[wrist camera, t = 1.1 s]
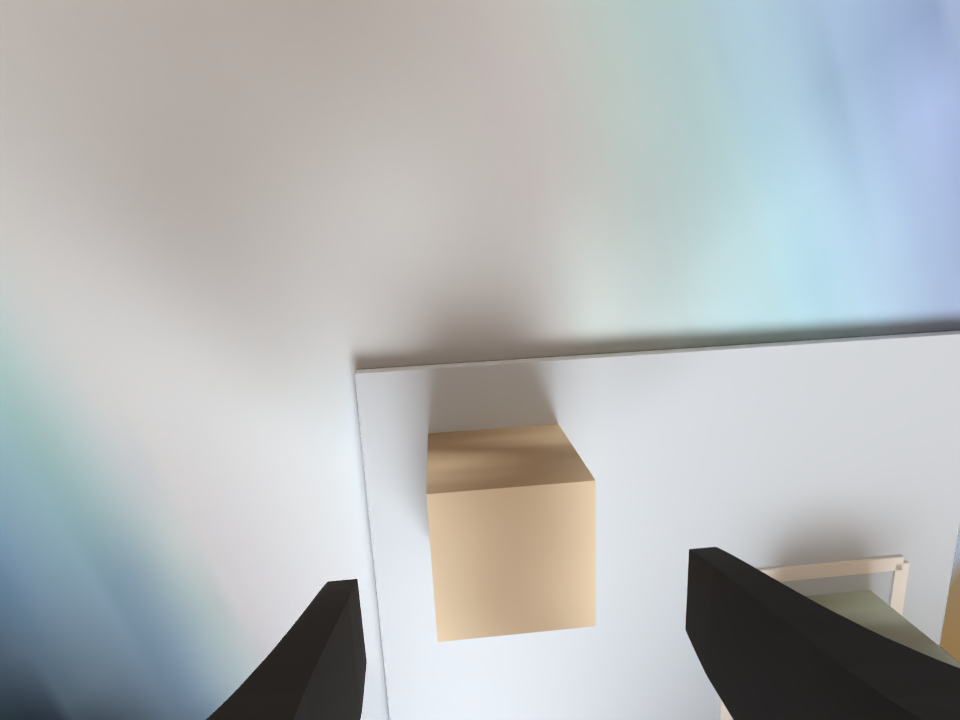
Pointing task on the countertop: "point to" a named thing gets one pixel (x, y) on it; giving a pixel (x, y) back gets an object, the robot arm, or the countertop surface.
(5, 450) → the countertop surface
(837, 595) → the sage base cube
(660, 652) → the white rectangular panel
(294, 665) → the robot arm
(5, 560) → the countertop surface
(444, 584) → the maple cube
